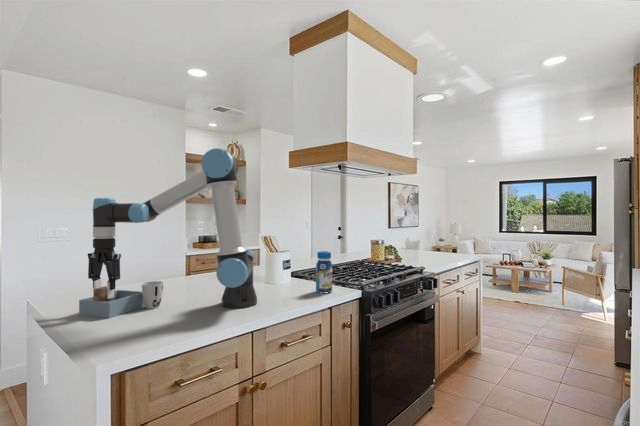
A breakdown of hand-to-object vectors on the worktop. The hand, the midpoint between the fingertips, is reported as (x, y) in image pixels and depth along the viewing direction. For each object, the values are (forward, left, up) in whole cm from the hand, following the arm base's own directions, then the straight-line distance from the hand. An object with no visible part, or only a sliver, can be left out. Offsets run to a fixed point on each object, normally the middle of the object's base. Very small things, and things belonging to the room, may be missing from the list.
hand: (104, 297), depth 141 cm
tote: (0, -5, -6) cm, 8 cm away
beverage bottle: (-73, -60, -7) cm, 95 cm away
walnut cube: (0, 0, -1) cm, 1 cm away
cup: (-11, -13, -7) cm, 19 cm away
